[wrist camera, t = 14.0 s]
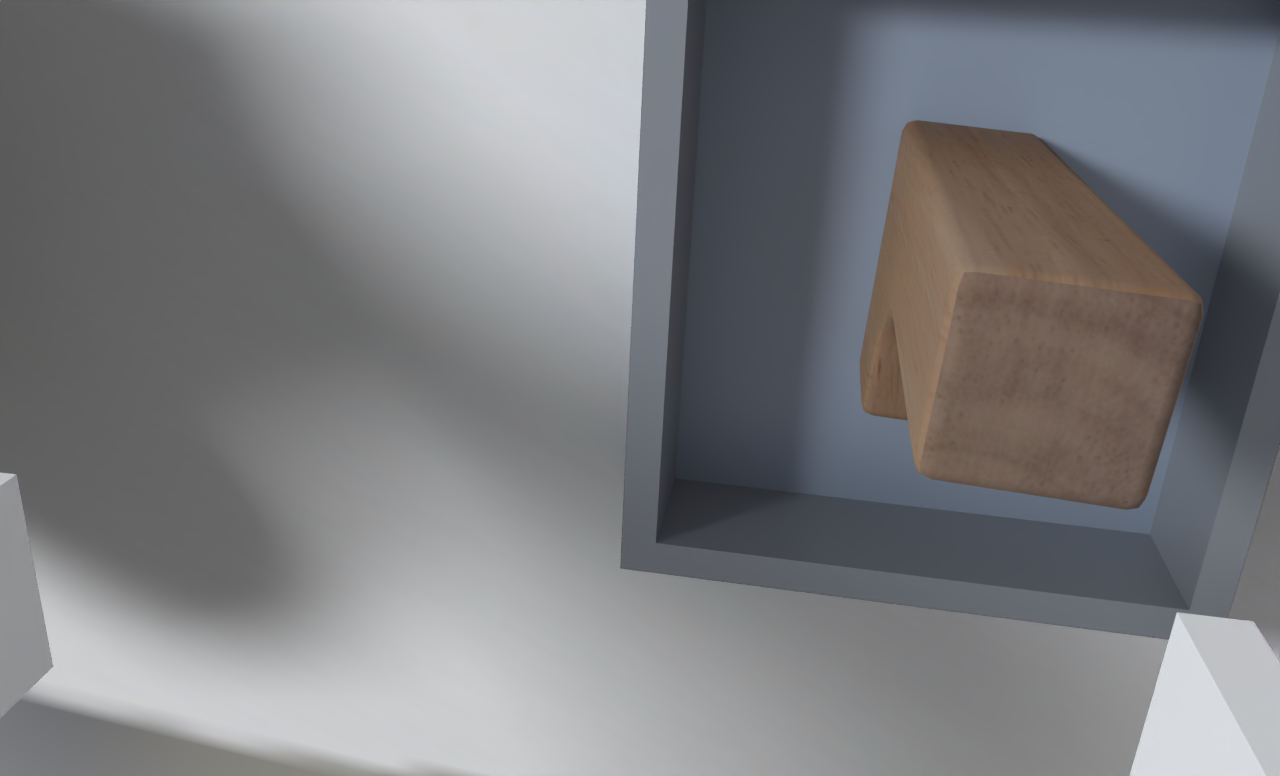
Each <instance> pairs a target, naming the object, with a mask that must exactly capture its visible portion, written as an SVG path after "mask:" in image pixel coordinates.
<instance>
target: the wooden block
mask: <svg viewBox="0 0 1280 776" xmlns="http://www.w3.org/2000/svg"><path fill="white" fill-rule="evenodd" d="M1203 315H1204V312H1203V304H1202V298H1201V297H1200V296H1199V295H1198V294H1197V293H1196V292H1195V291H1194V290H1193V289H1192V288H1191V287H1190V286H1189V285H1188V284H1187V283H1186V282H1185V281H1184V280H1183V279H1182V278H1181V277H1180V276H1179V275H1178V274H1177V273H1176V272H1175V271H1174V270H1173V269H1172V268H1171V267H1170V266H1169V265H1168V264H1167V263H1166V262H1165V261H1164V260H1163V259H1162V258H1161V257H1160V256H1159V255H1158V254H1157V253H1156V252H1155V251H1154V250H1153V249H1152V248H1151V247H1150V246H1149V245H1148V244H1147V243H1146V242H1145V241H1144V240H1143V239H1142V238H1141V237H1140V236H1139V235H1138V234H1137V233H1136V232H1135V231H1134V230H1133V229H1132V228H1131V227H1130V226H1129V225H1128V224H1127V223H1126V222H1125V221H1124V220H1122V219H1121V218H1120V217H1119V216H1118V215H1117V214H1116V213H1115V212H1114V211H1113V210H1112V209H1111V208H1110V207H1109V206H1108V205H1107V204H1106V203H1105V202H1104V201H1103V200H1102V199H1101V198H1100V197H1099V196H1098V195H1097V194H1096V193H1095V192H1094V191H1093V190H1092V189H1091V188H1090V187H1089V186H1088V185H1087V184H1086V183H1085V182H1084V181H1083V180H1082V179H1081V178H1080V177H1079V176H1078V175H1077V174H1076V173H1075V172H1074V171H1073V170H1072V169H1071V168H1070V167H1069V166H1068V165H1067V164H1066V163H1065V162H1064V161H1063V160H1062V159H1061V158H1060V157H1059V156H1058V155H1057V154H1056V153H1055V152H1054V151H1053V150H1052V149H1051V148H1050V147H1049V146H1048V145H1047V144H1046V143H1045V142H1044V141H1043V140H1042V139H1041V138H1039V137H1037V136H1036V135H1034V134H1030V133H1022V132H1013V131H1005V130H996V129H988V128H980V127H971V126H963V125H954V124H946V123H938V122H929V121H921V120H915V121H911V122H908V123H907V124H906V125H905V127H904V129H903V130H902V134H901V139H900V145H899V150H898V155H897V161H896V166H895V172H894V177H893V183H892V188H891V193H890V199H889V204H888V210H887V215H886V221H885V226H884V231H883V237H882V242H881V248H880V253H879V259H878V264H877V269H876V275H875V280H874V286H873V291H872V297H871V302H870V308H869V313H868V318H867V324H866V329H865V335H864V340H863V346H862V351H861V356H860V382H861V402H862V406H863V410H864V411H865V412H866V413H868V414H871V415H873V416H880V417H887V418H893V419H900V420H906V421H908V424H909V431H910V438H911V445H912V452H913V458H914V463H915V467H916V471H917V472H919V473H920V474H921V475H924V476H926V477H928V478H930V479H932V480H939V481H945V482H951V483H958V484H964V485H971V486H977V487H983V488H990V489H996V490H1003V491H1009V492H1015V493H1022V494H1028V495H1035V496H1041V497H1047V498H1054V499H1060V500H1067V501H1073V502H1079V503H1086V504H1092V505H1099V506H1105V507H1111V508H1118V509H1124V510H1128V509H1135V508H1139V507H1140V506H1141V504H1142V503H1143V502H1144V500H1145V499H1146V497H1147V494H1148V492H1149V488H1150V485H1151V482H1152V479H1153V476H1154V472H1155V469H1156V466H1157V463H1158V459H1159V456H1160V453H1161V450H1162V447H1163V443H1164V440H1165V437H1166V434H1167V431H1168V427H1169V424H1170V421H1171V418H1172V414H1173V411H1174V408H1175V405H1176V402H1177V398H1178V395H1179V392H1180V389H1181V386H1182V382H1183V379H1184V376H1185V373H1186V369H1187V366H1188V363H1189V360H1190V357H1191V353H1192V350H1193V347H1194V344H1195V340H1196V337H1197V334H1198V331H1199V328H1200V324H1201V321H1202V318H1203Z"/></svg>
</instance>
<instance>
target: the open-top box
mask: <svg viewBox="0 0 1280 776" xmlns="http://www.w3.org/2000/svg"><path fill="white" fill-rule="evenodd" d="M915 120H921V121H929V122H938V123H946V124H954V125H963V126H971V127H980V128H988V129H996V130H1005V131H1013V132H1022V133H1030V134H1034V135H1036V136H1037V137H1039V138H1041V139H1042V140H1043V141H1044V142H1045V143H1046V144H1047V145H1048V146H1049V147H1050V148H1051V149H1052V150H1053V151H1054V152H1055V153H1056V154H1057V155H1058V156H1059V157H1060V158H1061V159H1062V160H1063V161H1064V162H1065V163H1066V164H1067V165H1068V166H1069V167H1070V168H1071V169H1072V170H1073V171H1074V172H1075V173H1076V174H1077V175H1078V176H1079V177H1080V178H1081V179H1082V180H1083V181H1084V182H1085V183H1086V184H1087V185H1088V186H1089V187H1090V188H1091V189H1092V190H1093V191H1094V192H1095V193H1096V194H1097V195H1098V196H1099V197H1100V198H1101V199H1102V200H1103V201H1104V202H1105V203H1106V204H1107V205H1108V206H1109V207H1110V208H1111V209H1112V210H1113V211H1114V212H1115V213H1116V214H1117V215H1118V216H1119V217H1120V218H1121V219H1122V220H1124V221H1125V222H1126V223H1127V224H1128V225H1129V226H1130V227H1131V228H1132V229H1133V230H1134V231H1135V232H1136V233H1137V234H1138V235H1139V236H1140V237H1141V238H1142V239H1143V240H1144V241H1145V242H1146V243H1147V244H1148V245H1149V246H1150V247H1151V248H1152V249H1153V250H1154V251H1155V252H1156V253H1157V254H1158V255H1159V256H1160V257H1161V258H1162V259H1163V260H1164V261H1165V262H1166V263H1167V264H1168V265H1169V266H1170V267H1171V268H1172V269H1173V270H1174V271H1175V272H1176V273H1177V274H1178V275H1179V276H1180V277H1181V278H1182V279H1183V280H1184V281H1185V282H1186V283H1187V284H1188V285H1189V286H1190V287H1191V288H1192V289H1193V290H1194V291H1195V292H1196V293H1197V294H1198V295H1199V296H1200V297H1201V298H1202V304H1203V312H1204V315H1203V318H1202V321H1201V324H1200V328H1199V331H1198V334H1197V337H1196V340H1195V344H1194V347H1193V350H1192V353H1191V357H1190V360H1189V363H1188V366H1187V369H1186V373H1185V376H1184V379H1183V382H1182V386H1181V389H1180V392H1179V395H1178V398H1177V402H1176V405H1175V408H1174V411H1173V414H1172V418H1171V421H1170V424H1169V427H1168V431H1167V434H1166V437H1165V440H1164V443H1163V447H1162V450H1161V453H1160V456H1159V459H1158V463H1157V466H1156V469H1155V472H1154V476H1153V479H1152V482H1151V485H1150V488H1149V492H1148V494H1147V497H1146V499H1145V500H1144V502H1143V503H1142V504H1141V506H1140V507H1139V508H1135V509H1128V510H1124V509H1118V508H1111V507H1105V506H1099V505H1092V504H1086V503H1079V502H1073V501H1067V500H1060V499H1054V498H1047V497H1041V496H1035V495H1028V494H1022V493H1015V492H1009V491H1003V490H996V489H990V488H983V487H977V486H971V485H964V484H958V483H951V482H945V481H939V480H932V479H930V478H928V477H926V476H924V475H921V474H920V473H919V472H917V471H916V467H915V463H914V458H913V452H912V445H911V438H910V431H909V424H908V421H906V420H900V419H893V418H887V417H880V416H873V415H871V414H868V413H866V412H865V411H864V410H863V406H862V402H861V382H860V356H861V351H862V346H863V340H864V335H865V329H866V324H867V318H868V313H869V308H870V302H871V297H872V291H873V286H874V280H875V275H876V269H877V264H878V259H879V253H880V248H881V242H882V237H883V231H884V226H885V221H886V215H887V210H888V204H889V199H890V193H891V188H892V183H893V177H894V172H895V166H896V161H897V155H898V150H899V145H900V139H901V134H902V130H903V129H904V127H905V125H906V124H907V123H908V122H911V121H915ZM1279 445H1280V0H646V19H645V41H644V63H643V85H642V107H641V129H640V151H639V173H638V194H637V216H636V238H635V260H634V282H633V304H632V326H631V348H630V370H629V391H628V413H627V435H626V457H625V479H624V501H623V523H622V545H621V567H620V568H622V569H630V570H637V571H645V572H653V573H661V574H668V575H676V576H684V577H691V578H699V579H707V580H714V581H722V582H730V583H738V584H745V585H753V586H761V587H768V588H776V589H784V590H791V591H799V592H807V593H815V594H822V595H830V596H838V597H845V598H853V599H861V600H868V601H876V602H884V603H891V604H899V605H907V606H915V607H922V608H930V609H938V610H945V611H953V612H961V613H968V614H976V615H984V616H992V617H999V618H1007V619H1015V620H1022V621H1030V622H1038V623H1045V624H1053V625H1061V626H1069V627H1076V628H1084V629H1092V630H1099V631H1107V632H1115V633H1122V634H1130V635H1138V636H1145V637H1153V638H1161V639H1169V638H1170V634H1171V631H1172V628H1173V624H1174V621H1175V617H1176V614H1177V612H1179V613H1187V614H1196V615H1204V616H1212V617H1221V618H1228V615H1229V612H1230V609H1231V605H1232V602H1233V599H1234V595H1235V592H1236V589H1237V585H1238V582H1239V579H1240V575H1241V572H1242V569H1243V565H1244V562H1245V559H1246V555H1247V552H1248V549H1249V545H1250V542H1251V539H1252V535H1253V532H1254V529H1255V525H1256V522H1257V519H1258V515H1259V512H1260V509H1261V505H1262V502H1263V499H1264V495H1265V492H1266V489H1267V485H1268V482H1269V479H1270V475H1271V472H1272V469H1273V465H1274V462H1275V459H1276V455H1277V452H1278V449H1279Z"/></svg>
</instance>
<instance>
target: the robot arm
mask: <svg viewBox="0 0 1280 776" xmlns="http://www.w3.org/2000/svg"><path fill="white" fill-rule="evenodd" d="M52 667H53V664H52V658H51V653H50V648H49V642H48V637H47V632H46V627H45V621H44V616H43V611H42V605H41V600H40V595H39V590H38V584H37V579H36V574H35V568H34V563H33V558H32V553H31V547H30V542H29V537H28V532H27V526H26V521H25V516H24V510H23V505H22V500H21V495H20V489H19V484H18V479H17V474H9V473H0V718H1V717H2V716H3V715H4V714H5V713H6V712H7V711H8V710H9V709H10V708H11V707H12V706H13V705H14V704H15V703H16V702H17V701H18V700H19V699H20V698H21V697H22V696H23V695H24V694H25V693H26V692H28V691H29V690H30V689H31V688H32V687H33V686H34V685H35V684H36V683H37V682H38V681H39V680H40V679H41V678H42V677H43V676H44V675H45V674H46V673H47V672H48V671H49V670H50V669H51V668H52ZM1130 776H1280V662H1279V660H1278V659H1277V657H1276V655H1275V654H1274V652H1273V651H1272V649H1271V648H1270V646H1269V645H1268V643H1267V642H1266V640H1265V639H1264V637H1263V635H1262V634H1261V632H1260V631H1259V629H1258V628H1257V626H1256V625H1255V623H1254V622H1253V621H1246V620H1238V619H1229V618H1221V617H1212V616H1204V615H1196V614H1187V613H1179V612H1177V614H1176V617H1175V621H1174V624H1173V628H1172V631H1171V634H1170V638H1169V641H1168V645H1167V648H1166V652H1165V655H1164V659H1163V662H1162V666H1161V669H1160V672H1159V676H1158V679H1157V683H1156V686H1155V690H1154V693H1153V697H1152V700H1151V703H1150V707H1149V710H1148V714H1147V717H1146V721H1145V724H1144V728H1143V731H1142V735H1141V738H1140V741H1139V745H1138V748H1137V752H1136V755H1135V759H1134V762H1133V766H1132V769H1131V773H1130Z"/></svg>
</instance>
